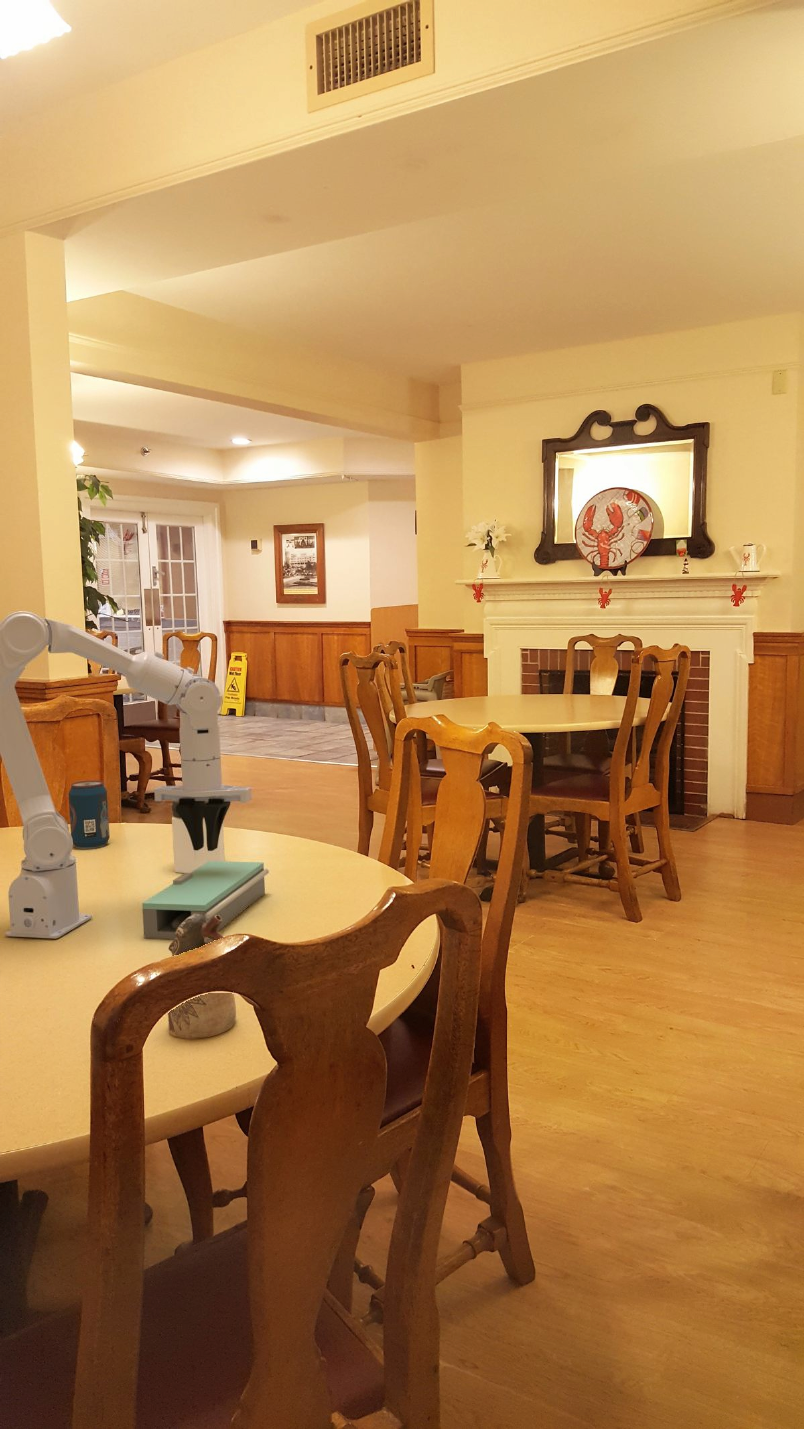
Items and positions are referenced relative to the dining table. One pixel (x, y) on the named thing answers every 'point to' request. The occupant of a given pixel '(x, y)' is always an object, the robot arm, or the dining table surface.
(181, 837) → the jar
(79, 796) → the soda can
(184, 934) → the figurine
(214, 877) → the duct lid
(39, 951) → the dining table surface
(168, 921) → the cable duct
